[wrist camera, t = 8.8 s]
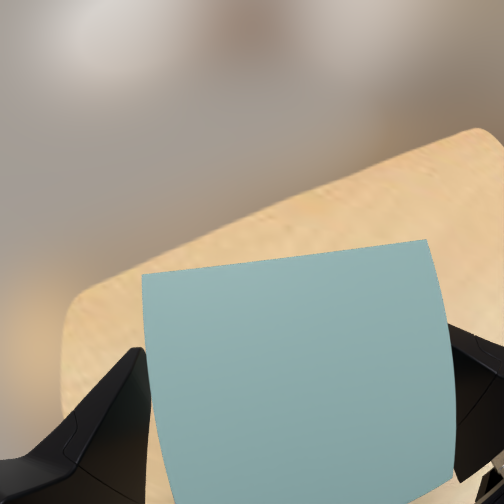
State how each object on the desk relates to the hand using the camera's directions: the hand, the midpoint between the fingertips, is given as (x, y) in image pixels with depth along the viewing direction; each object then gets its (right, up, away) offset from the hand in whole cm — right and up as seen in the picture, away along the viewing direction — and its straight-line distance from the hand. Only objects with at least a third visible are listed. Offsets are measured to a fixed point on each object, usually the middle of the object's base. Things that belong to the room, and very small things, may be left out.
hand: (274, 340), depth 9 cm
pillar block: (0, -4, +7) cm, 8 cm away
